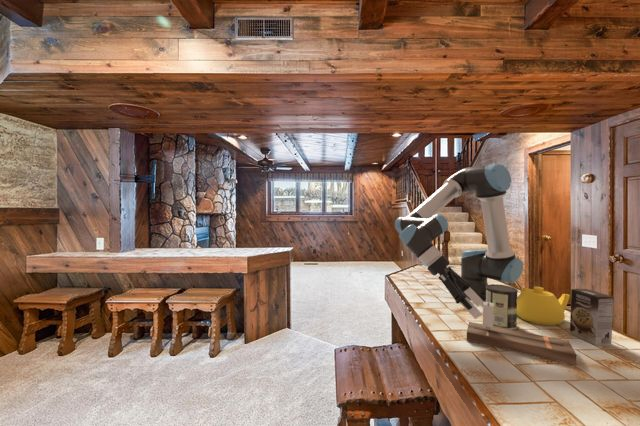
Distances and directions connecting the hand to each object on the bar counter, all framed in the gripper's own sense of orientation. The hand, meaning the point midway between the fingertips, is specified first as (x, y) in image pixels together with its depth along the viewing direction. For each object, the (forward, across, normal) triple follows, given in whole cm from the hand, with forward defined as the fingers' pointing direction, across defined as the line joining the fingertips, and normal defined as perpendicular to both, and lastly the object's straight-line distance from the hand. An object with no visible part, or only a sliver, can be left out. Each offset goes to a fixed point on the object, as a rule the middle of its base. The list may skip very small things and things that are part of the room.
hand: (479, 310), depth 99 cm
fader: (+6, -1, -3) cm, 7 cm away
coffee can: (+12, -18, -2) cm, 21 cm away
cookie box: (+30, -20, +16) cm, 39 cm away
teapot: (+21, -35, +7) cm, 42 cm away
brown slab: (+14, -1, +1) cm, 14 cm away
